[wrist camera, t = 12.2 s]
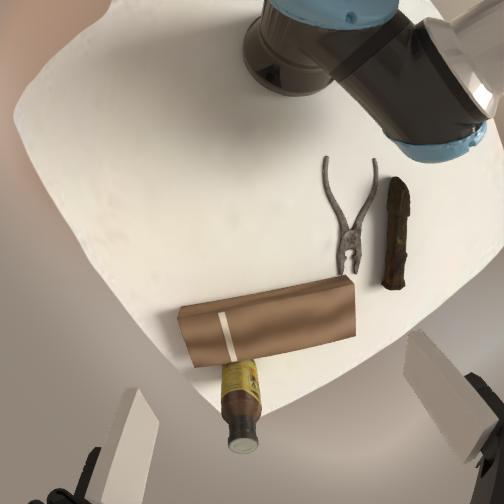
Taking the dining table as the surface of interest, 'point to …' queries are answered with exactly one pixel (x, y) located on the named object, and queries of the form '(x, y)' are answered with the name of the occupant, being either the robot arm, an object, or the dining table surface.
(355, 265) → the pliers
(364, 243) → the dining table surface
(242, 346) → the walnut plank
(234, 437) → the sauce bottle
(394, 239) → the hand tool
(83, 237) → the dining table surface
